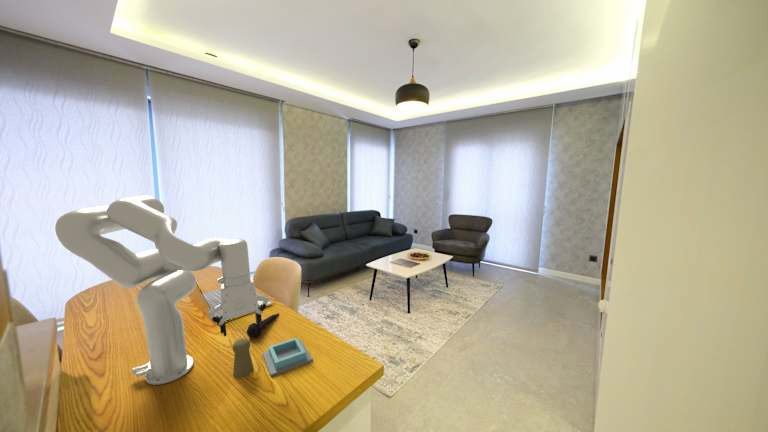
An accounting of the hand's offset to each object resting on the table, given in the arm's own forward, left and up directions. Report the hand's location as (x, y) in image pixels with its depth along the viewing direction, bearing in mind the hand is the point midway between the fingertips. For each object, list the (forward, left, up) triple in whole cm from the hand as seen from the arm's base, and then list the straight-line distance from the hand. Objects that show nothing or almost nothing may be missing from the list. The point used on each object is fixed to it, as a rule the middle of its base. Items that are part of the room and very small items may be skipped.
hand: (242, 329), depth 90 cm
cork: (-1, 0, -16) cm, 15 cm away
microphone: (+11, +24, -16) cm, 31 cm away
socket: (+13, -1, -15) cm, 20 cm away
